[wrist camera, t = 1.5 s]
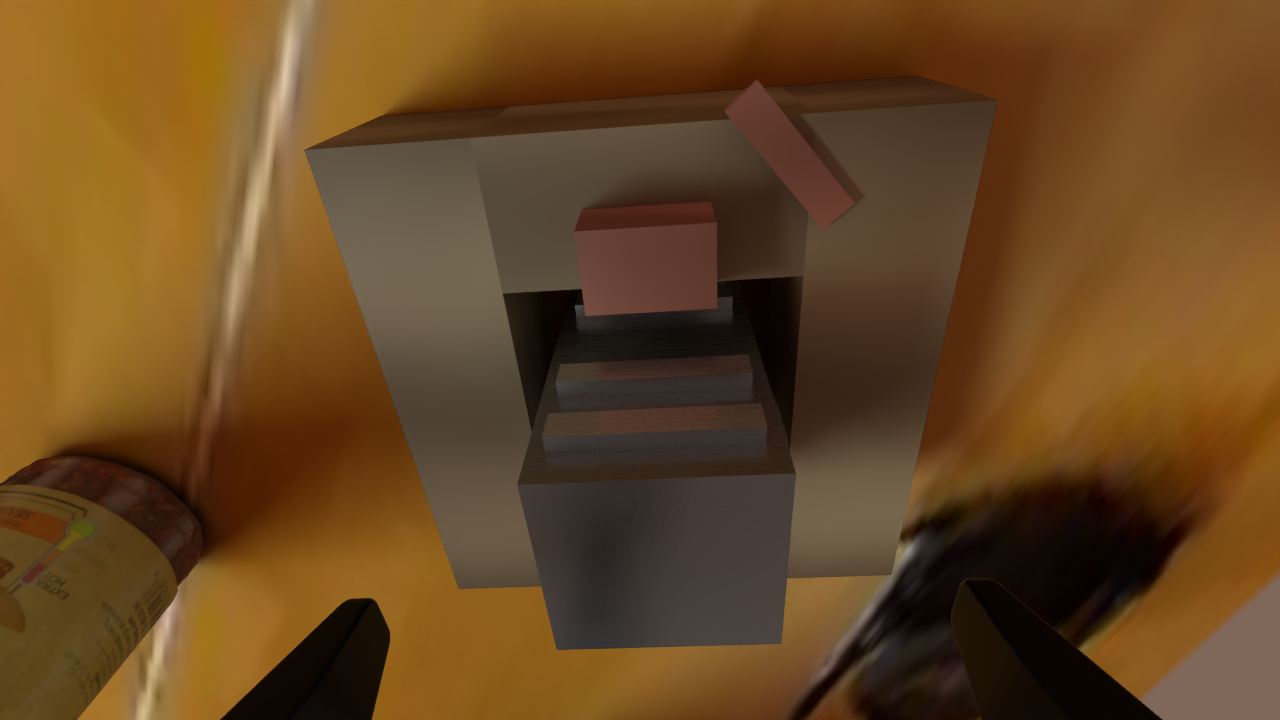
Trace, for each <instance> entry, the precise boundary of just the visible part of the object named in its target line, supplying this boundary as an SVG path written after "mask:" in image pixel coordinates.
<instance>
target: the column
mask: <svg viewBox="0 0 1280 720" xmlns="http://www.w3.org/2000/svg"><path fill="white" fill-rule="evenodd" d="M795 480H796V471H795V468H794V465H793V461H792V458H791V455H790V452H789V448H788V445H787V442H786V438H785V435H784V432H783V428H782V425H781V422H780V418H779V415H778V412H777V408H776V405H775V402H774V398H773V395H772V392H771V388H770V385H769V382H768V379H767V375H766V372H765V369H764V365H763V362H762V359H761V355H760V352H759V349H758V345H757V342H756V339H755V335H754V332H753V329H752V325H751V322H750V319H749V316H748V312H747V309H746V306H745V302H744V299H743V296H742V292H741V289H740V286H739V282H738V280H727V281H717V309H701V310H683V311H665V312H647V313H629V314H611V315H593V316H585V308H584V301H583V294H582V289H572V290H571V292H570V295H569V299H568V302H567V306H566V310H565V313H564V317H563V321H562V324H561V328H560V331H559V335H558V339H557V342H556V346H555V350H554V353H553V357H552V360H551V364H550V368H549V371H548V375H547V379H546V382H545V386H544V389H543V393H542V397H541V400H540V404H539V408H538V411H537V415H536V418H535V422H534V426H533V429H532V433H531V437H530V440H529V444H528V447H527V451H526V455H525V458H524V462H523V466H522V469H521V473H520V476H519V480H518V484H517V486H518V490H519V494H520V499H521V503H522V507H523V511H524V515H525V519H526V524H527V528H528V532H529V536H530V540H531V544H532V549H533V553H534V557H535V561H536V565H537V569H538V573H539V578H540V582H541V586H542V590H543V594H544V598H545V603H546V607H547V611H548V615H549V619H550V623H551V628H552V632H553V636H554V640H555V644H556V648H557V650H567V649H605V648H642V647H680V646H717V645H755V644H781V641H782V629H783V618H784V606H785V595H786V583H787V572H788V561H789V549H790V538H791V526H792V515H793V503H794V492H795Z"/></svg>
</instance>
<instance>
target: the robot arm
mask: <svg viewBox="0 0 1280 720" xmlns="http://www.w3.org/2000/svg"><path fill="white" fill-rule="evenodd" d="M951 621H952V627H953V631H954V634H955V637H956V640H957V644H958V647H959V650H960V653H961V656H962V659H963V662H964V665H965V669H966V672H967V675H968V678H969V681H970V684H971V687H972V691H973V694H974V697H975V700H976V703H977V706H978V709H979V713H980V716H981V719H982V720H1162V719H1161V718H1160V717H1159V716H1157V715H1156V714H1155V713H1154V712H1153V711H1151V710H1150V709H1149V708H1148V707H1147V706H1146V705H1144V704H1143V703H1142V702H1141V701H1140V700H1138V699H1137V698H1136V697H1135V696H1134V695H1132V694H1131V693H1130V692H1129V691H1128V690H1126V689H1125V688H1124V687H1123V686H1122V685H1120V684H1119V683H1118V682H1117V681H1116V680H1114V679H1113V678H1112V677H1111V676H1110V675H1108V674H1107V673H1106V672H1105V671H1104V670H1102V669H1101V668H1100V667H1099V666H1098V665H1096V664H1095V663H1094V662H1093V661H1092V660H1090V659H1089V658H1088V657H1087V656H1086V655H1084V654H1083V653H1082V652H1081V651H1080V650H1078V649H1077V648H1076V647H1075V646H1074V645H1072V644H1071V643H1070V642H1069V641H1068V640H1066V639H1065V638H1064V637H1063V636H1062V635H1061V634H1059V633H1058V632H1057V631H1056V630H1055V629H1053V628H1052V627H1051V626H1050V625H1049V624H1047V623H1046V622H1045V621H1044V620H1043V619H1041V618H1040V617H1039V616H1038V615H1037V614H1035V613H1034V612H1033V611H1032V610H1031V609H1029V608H1028V607H1027V606H1026V605H1025V604H1023V603H1022V602H1021V601H1020V600H1019V599H1017V598H1016V597H1015V596H1014V595H1013V594H1011V593H1010V592H1009V591H1008V590H1007V589H1005V588H1004V587H1003V586H1002V585H1001V584H999V583H998V582H997V581H995V580H993V579H989V578H974V579H965V580H964V581H962V582H961V584H960V587H959V590H958V593H957V597H956V600H955V603H954V606H953V609H952V614H951ZM389 644H390V631H389V628H388V626H387V623H386V621H385V619H384V617H383V615H382V613H381V611H380V608H379V606H378V604H377V602H376V601H375V600H373V599H372V598H359V599H349V600H346V601H345V602H343V603H342V604H341V605H340V606H339V607H337V608H336V609H335V610H334V611H333V612H332V613H331V614H330V615H329V616H328V617H327V618H326V619H325V620H324V621H323V622H322V623H321V624H320V625H319V626H318V627H317V628H316V629H314V630H313V631H312V632H311V633H310V634H309V635H308V636H307V637H306V638H305V639H304V640H303V641H302V642H301V643H300V644H299V645H298V646H297V647H296V648H295V649H294V650H293V651H291V652H290V653H289V654H288V655H287V656H286V657H285V658H284V659H283V660H282V661H281V662H280V663H279V664H278V665H277V666H276V667H275V668H274V669H273V670H272V671H271V672H269V673H268V674H267V675H266V676H265V677H264V678H263V679H262V680H261V681H260V682H259V683H258V684H257V685H256V686H255V687H254V688H253V689H252V690H251V691H250V692H249V693H248V694H246V695H245V696H244V697H243V698H242V699H241V700H240V701H239V702H238V703H237V704H236V705H235V706H234V707H233V708H232V709H231V710H230V711H229V712H228V713H227V714H226V715H225V716H223V717H222V718H221V719H220V720H372V716H373V712H374V708H375V704H376V700H377V695H378V691H379V687H380V683H381V678H382V674H383V670H384V666H385V662H386V657H387V653H388V649H389Z"/></svg>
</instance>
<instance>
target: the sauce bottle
mask: <svg viewBox="0 0 1280 720" xmlns="http://www.w3.org/2000/svg"><path fill="white" fill-rule="evenodd" d="M203 547H204V536H203V535H202V531H201V524H200V522H199V521H198V520H197V518H196V517H195V516H194V515H193V514H192V512H191V511H190V509H189V507H188V506H186V505H185V504H184V503H183V502H181V501H180V500H179V499H178V498H177V497H176V495H175V494H174V493H173V492H171V491H170V490H169V489H168V488H167V487H166V486H165V485H163V484H162V483H161V482H159V481H158V480H156V479H155V478H152V477H150V476H148V475H146V474H144V473H140V472H137V471H136V470H135V469H132V468H128V467H125V466H122V465H120V464H117V463H114V462H110V461H104V460H100V459H96V458H91V457H85V456H65V455H58V456H56V457H53V458H45V459H40V460H37V461H35V462H33V463H32V464H30V465H29V466H27V467H24V468H22V469H21V470H19V471H18V472H16V473H15V474H14V475H12V476H10V477H9V478H8V479H7V480H5V481H4V482H3V483H1V484H0V720H77V719H78V718H79V717H80V716H81V714H82V713H83V712H84V711H85V709H86V708H87V707H88V706H89V705H90V703H91V702H92V701H93V700H94V698H95V697H96V696H97V695H98V694H99V692H100V691H101V690H102V689H103V687H104V686H105V685H106V684H107V682H108V681H109V680H110V679H111V678H112V676H113V675H114V674H115V673H116V671H117V670H118V669H119V668H120V666H121V665H122V664H123V663H124V661H125V660H126V659H127V658H128V656H129V655H130V654H131V653H132V652H133V650H134V649H135V648H136V647H137V645H138V644H139V643H140V642H141V640H142V639H143V638H144V637H145V635H146V634H147V633H148V632H149V630H150V629H151V628H152V627H153V625H154V624H155V623H156V622H157V620H158V619H159V618H160V617H161V615H162V614H163V613H164V612H165V610H166V609H167V608H168V607H169V605H170V604H171V603H172V602H173V600H174V598H175V596H176V594H177V591H178V589H177V587H178V586H179V585H180V583H181V582H182V581H183V580H184V579H185V578H186V577H187V576H188V575H189V573H190V572H191V570H192V569H193V568H194V567H195V566H196V564H197V563H198V559H199V557H200V555H201V551H202V550H203Z"/></svg>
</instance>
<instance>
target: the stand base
mask: <svg viewBox="0 0 1280 720" xmlns="http://www.w3.org/2000/svg"><path fill="white" fill-rule="evenodd" d="M996 105H997V100H996V99H993V98H990V97H986V96H983V95H980V94H976V93H973V92H970V91H966V90H963V89H960V88H956V87H953V86H950V85H946V84H943V83H940V82H936V81H933V80H930V79H927V78H923V77H920V76H910V77H897V78H883V79H870V80H857V81H843V82H830V83H817V84H803V85H790V86H776V87H763V86H762V85H761V84H760V82H759V81H758V80H757V79H756V80H755V81H754V82H753V83H752V84H751V85H750V86H749V87H748V88H747V89H736V90H723V91H709V92H696V93H683V94H669V95H656V96H643V97H629V98H616V99H602V100H589V101H576V102H562V103H549V104H536V105H522V106H509V107H495V108H482V109H469V110H455V111H442V112H429V113H415V114H402V115H388V116H380V117H378V118H375V119H373V120H371V121H369V122H366V123H364V124H362V125H360V126H357V127H355V128H353V129H350V130H348V131H346V132H344V133H341V134H339V135H337V136H335V137H332V138H330V139H328V140H326V141H323V142H321V143H319V144H317V145H314V146H312V147H310V148H308V149H305V150H304V151H305V153H306V156H307V159H308V162H309V165H310V168H311V170H312V173H313V176H314V179H315V182H316V185H317V187H318V190H319V193H320V196H321V199H322V202H323V204H324V207H325V210H326V213H327V216H328V219H329V222H330V224H331V227H332V230H333V233H334V236H335V239H336V241H337V244H338V247H339V250H340V253H341V256H342V258H343V261H344V264H345V267H346V270H347V273H348V275H349V278H350V281H351V284H352V287H353V290H354V292H355V295H356V298H357V301H358V304H359V307H360V310H361V312H362V315H363V318H364V321H365V324H366V327H367V329H368V332H369V335H370V338H371V341H372V344H373V346H374V349H375V352H376V355H377V358H378V361H379V363H380V366H381V369H382V372H383V375H384V378H385V380H386V383H387V386H388V389H389V392H390V395H391V397H392V400H393V403H394V406H395V409H396V412H397V415H398V417H399V420H400V423H401V426H402V429H403V432H404V434H405V437H406V440H407V443H408V446H409V449H410V451H411V454H412V457H413V460H414V463H415V466H416V468H417V471H418V474H419V477H420V480H421V483H422V485H423V488H424V491H425V494H426V497H427V500H428V503H429V505H430V508H431V511H432V514H433V517H434V520H435V522H436V525H437V528H438V531H439V534H440V537H441V539H442V542H443V545H444V548H445V551H446V554H447V556H448V559H449V562H450V565H451V568H452V571H453V573H454V576H455V579H456V582H457V585H458V588H459V589H470V588H501V587H532V586H541V582H540V578H539V573H538V569H537V565H536V561H535V557H534V553H533V549H532V544H531V540H530V536H529V532H528V528H527V524H526V519H525V515H524V511H523V507H522V503H521V499H520V494H519V490H518V486H517V484H518V480H519V476H520V473H521V469H522V466H523V462H524V458H525V455H526V451H527V447H528V444H529V440H530V437H531V433H532V429H533V426H534V422H535V418H536V415H537V411H538V408H539V404H540V400H541V397H542V393H543V389H544V386H545V382H546V379H547V375H548V371H549V368H550V364H551V360H552V357H553V351H552V346H551V340H550V334H549V328H548V322H547V316H546V311H545V305H544V299H543V293H542V291H555V290H572V289H582V294H583V301H584V308H585V316H593V315H611V314H629V313H647V312H665V311H683V310H701V309H717V281H727V280H744V279H761V278H770V289H769V311H768V332H767V354H766V375H767V379H768V382H769V385H770V388H771V392H772V395H773V398H774V402H775V405H776V408H777V412H778V415H779V418H780V422H781V425H782V428H783V432H784V435H785V438H786V442H787V445H788V448H789V452H790V455H791V458H792V461H793V465H794V468H795V471H796V480H795V492H794V503H793V515H792V526H791V538H790V549H789V561H788V572H787V578H812V577H843V576H874V575H891V573H892V569H893V565H894V560H895V556H896V551H897V547H898V542H899V538H900V533H901V529H902V524H903V520H904V515H905V511H906V506H907V502H908V498H909V493H910V489H911V484H912V480H913V475H914V471H915V466H916V462H917V457H918V453H919V448H920V444H921V440H922V435H923V431H924V426H925V422H926V417H927V413H928V408H929V404H930V399H931V395H932V390H933V386H934V382H935V377H936V373H937V368H938V364H939V359H940V355H941V350H942V346H943V341H944V337H945V332H946V328H947V323H948V319H949V315H950V310H951V306H952V301H953V297H954V292H955V288H956V283H957V279H958V274H959V270H960V265H961V261H962V257H963V252H964V248H965V243H966V239H967V234H968V230H969V225H970V221H971V216H972V212H973V207H974V203H975V198H976V194H977V190H978V185H979V181H980V176H981V172H982V167H983V163H984V158H985V154H986V149H987V145H988V140H989V136H990V132H991V127H992V123H993V118H994V114H995V109H996Z"/></svg>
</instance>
